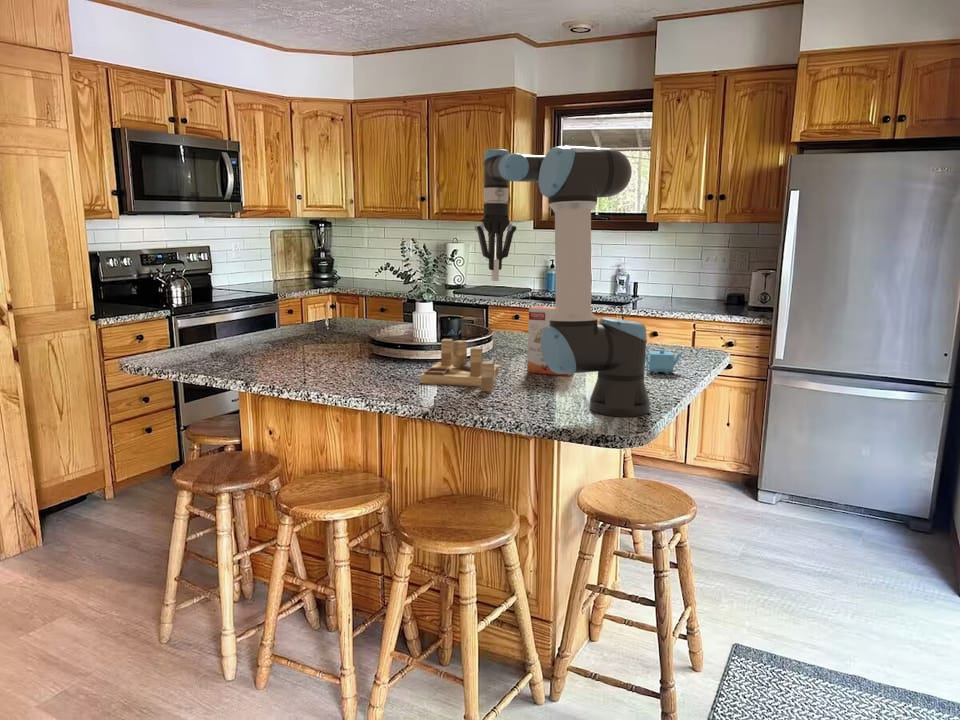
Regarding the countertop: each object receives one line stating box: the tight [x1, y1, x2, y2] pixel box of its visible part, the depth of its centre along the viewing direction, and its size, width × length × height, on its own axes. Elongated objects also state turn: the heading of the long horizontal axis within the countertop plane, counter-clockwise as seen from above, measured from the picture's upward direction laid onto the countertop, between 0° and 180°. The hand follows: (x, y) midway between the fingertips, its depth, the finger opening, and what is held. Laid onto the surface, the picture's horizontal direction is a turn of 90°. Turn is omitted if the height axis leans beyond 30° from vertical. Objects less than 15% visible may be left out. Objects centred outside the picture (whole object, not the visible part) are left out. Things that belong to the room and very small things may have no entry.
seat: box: [419, 338, 500, 387], centre depth 218 cm, size 20×20×10 cm
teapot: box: [645, 348, 685, 375], centre depth 227 cm, size 12×6×8 cm, turn 80°
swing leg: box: [453, 339, 470, 370], centre depth 217 cm, size 11×3×8 cm, turn 48°
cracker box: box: [526, 305, 573, 377], centre depth 224 cm, size 14×6×21 cm, turn 68°
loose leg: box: [480, 360, 495, 393], centre depth 202 cm, size 3×3×8 cm
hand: (495, 280), depth 221 cm, fingers closed
